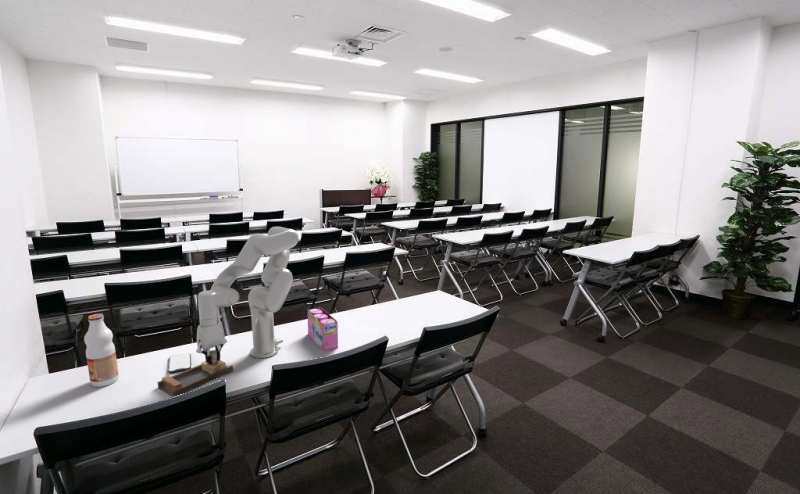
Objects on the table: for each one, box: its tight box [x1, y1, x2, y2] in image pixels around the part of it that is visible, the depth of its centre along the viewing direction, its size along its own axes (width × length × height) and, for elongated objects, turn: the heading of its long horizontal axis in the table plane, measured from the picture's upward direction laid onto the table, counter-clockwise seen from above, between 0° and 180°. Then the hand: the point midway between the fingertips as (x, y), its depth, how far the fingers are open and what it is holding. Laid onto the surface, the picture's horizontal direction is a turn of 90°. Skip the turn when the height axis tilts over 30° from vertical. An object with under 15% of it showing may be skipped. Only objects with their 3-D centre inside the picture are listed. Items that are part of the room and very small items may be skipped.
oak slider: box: [200, 349, 227, 374], centre depth 174 cm, size 6×8×8 cm
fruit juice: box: [83, 313, 120, 388], centre depth 164 cm, size 9×9×28 cm
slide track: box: [157, 363, 234, 398], centre depth 169 cm, size 25×12×4 cm, turn 145°
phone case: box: [167, 353, 192, 375], centre depth 182 cm, size 9×2×16 cm
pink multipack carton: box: [307, 306, 339, 352], centre depth 206 cm, size 24×8×14 cm, turn 31°
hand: (213, 361), depth 175 cm, fingers closed on oak slider, 3 cm apart
